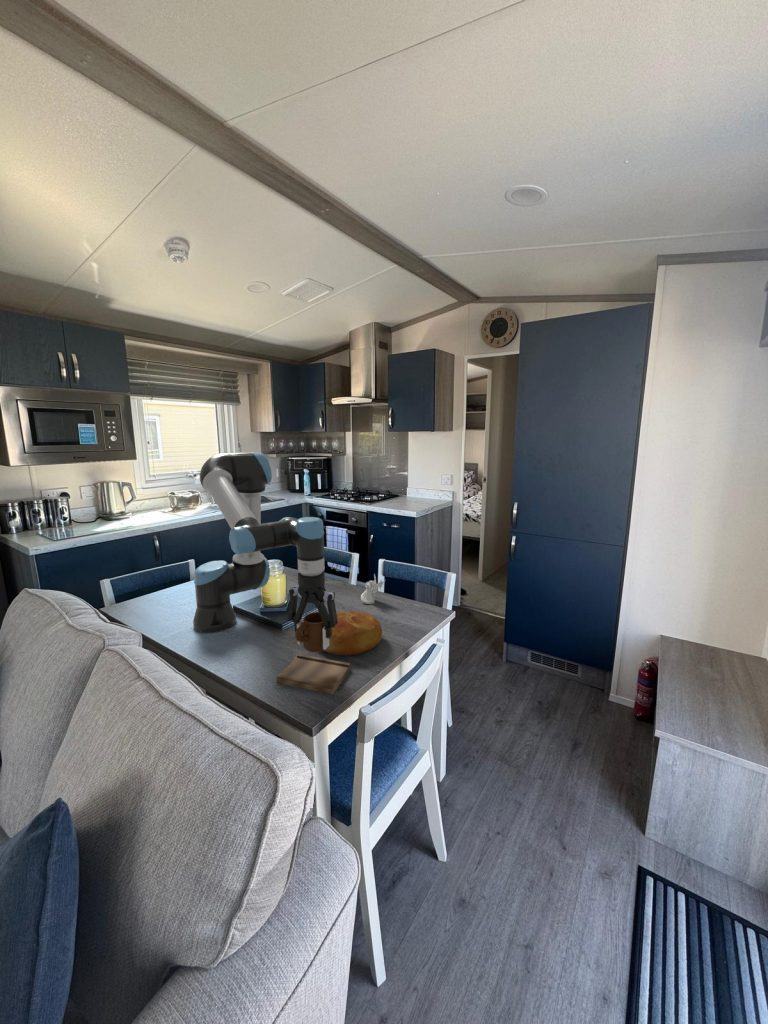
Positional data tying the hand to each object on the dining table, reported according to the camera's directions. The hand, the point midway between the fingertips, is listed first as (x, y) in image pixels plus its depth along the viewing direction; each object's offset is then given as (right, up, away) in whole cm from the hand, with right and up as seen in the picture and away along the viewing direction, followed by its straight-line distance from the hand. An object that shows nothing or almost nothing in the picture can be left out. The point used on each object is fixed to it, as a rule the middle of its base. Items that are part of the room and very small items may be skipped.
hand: (313, 644), depth 126 cm
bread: (+9, -6, +22) cm, 25 cm away
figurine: (+16, +1, +56) cm, 58 cm away
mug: (-1, -2, +1) cm, 2 cm away
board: (0, -10, +2) cm, 10 cm away
